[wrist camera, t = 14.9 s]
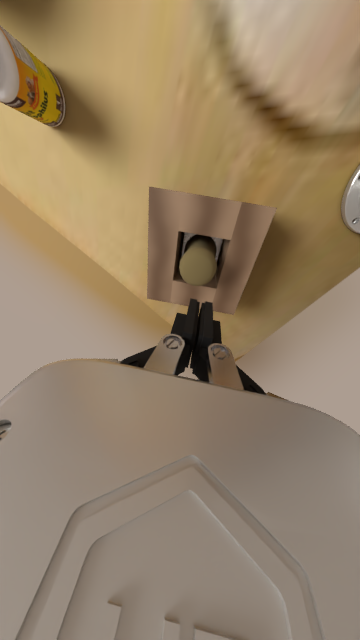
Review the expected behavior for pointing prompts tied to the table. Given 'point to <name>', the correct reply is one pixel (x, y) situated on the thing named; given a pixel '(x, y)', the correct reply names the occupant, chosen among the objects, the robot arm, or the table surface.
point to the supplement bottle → (29, 83)
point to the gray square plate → (217, 240)
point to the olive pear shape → (199, 260)
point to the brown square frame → (209, 220)
